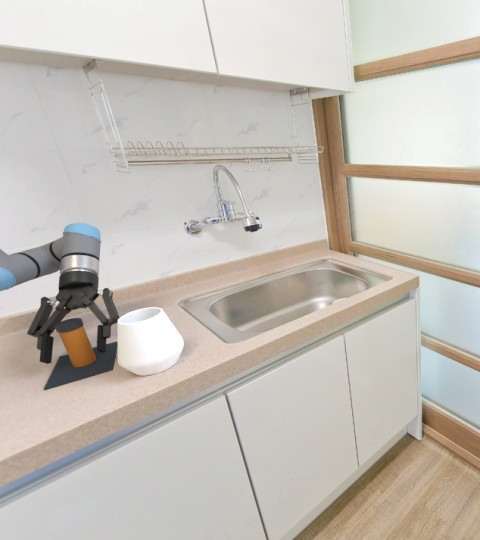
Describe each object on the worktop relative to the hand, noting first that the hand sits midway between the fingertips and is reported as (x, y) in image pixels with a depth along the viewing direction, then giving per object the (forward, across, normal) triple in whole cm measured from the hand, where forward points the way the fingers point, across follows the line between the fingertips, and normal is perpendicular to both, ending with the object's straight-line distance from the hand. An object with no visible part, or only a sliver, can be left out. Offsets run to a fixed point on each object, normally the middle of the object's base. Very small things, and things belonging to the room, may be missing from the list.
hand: (74, 356), depth 80 cm
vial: (0, 0, -5) cm, 5 cm away
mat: (+1, 0, -5) cm, 5 cm away
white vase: (+7, -17, +1) cm, 19 cm away
